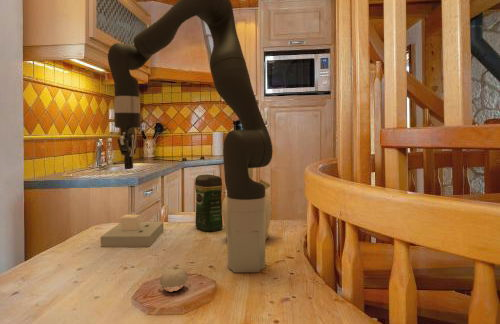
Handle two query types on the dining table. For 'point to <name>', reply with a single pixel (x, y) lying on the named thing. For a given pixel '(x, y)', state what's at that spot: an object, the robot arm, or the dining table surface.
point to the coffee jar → (208, 202)
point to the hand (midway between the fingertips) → (128, 168)
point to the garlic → (174, 277)
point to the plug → (130, 222)
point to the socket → (132, 235)
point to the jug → (267, 205)
